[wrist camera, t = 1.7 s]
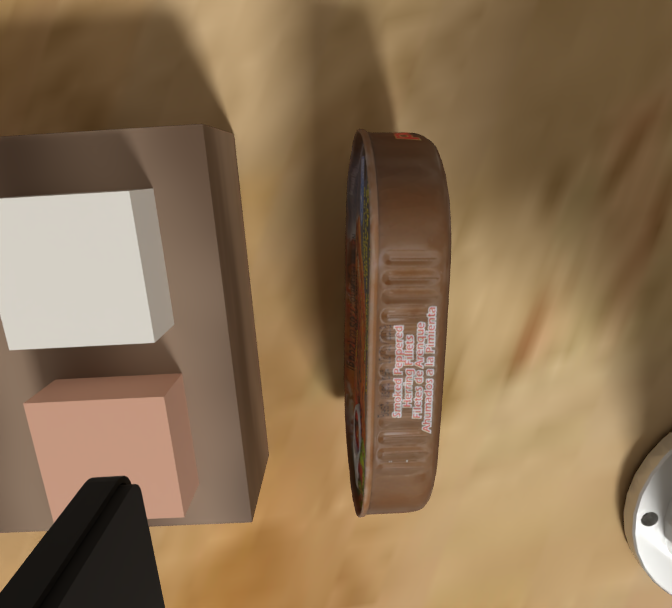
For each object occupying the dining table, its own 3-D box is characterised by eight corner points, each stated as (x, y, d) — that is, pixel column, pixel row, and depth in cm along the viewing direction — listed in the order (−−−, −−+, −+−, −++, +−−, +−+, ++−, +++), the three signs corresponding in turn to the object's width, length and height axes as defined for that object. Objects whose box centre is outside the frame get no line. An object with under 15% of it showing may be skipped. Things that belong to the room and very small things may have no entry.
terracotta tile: (182, 373, 19) (164, 396, 17) (199, 483, 20) (184, 517, 18) (55, 379, 19) (23, 403, 17) (81, 489, 20) (53, 522, 18)
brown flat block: (234, 133, 21) (202, 123, 16) (268, 455, 25) (252, 522, 21) (-14, 149, 21) (-117, 143, 17) (63, 464, 26) (-1, 532, 21)
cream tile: (152, 188, 17) (129, 190, 15) (174, 324, 18) (154, 342, 16) (12, 196, 17) (-30, 200, 15) (43, 331, 18) (9, 350, 16)
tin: (346, 136, 21) (351, 117, 13) (418, 137, 21) (468, 118, 13) (343, 440, 25) (345, 570, 17) (403, 441, 25) (433, 570, 17)
